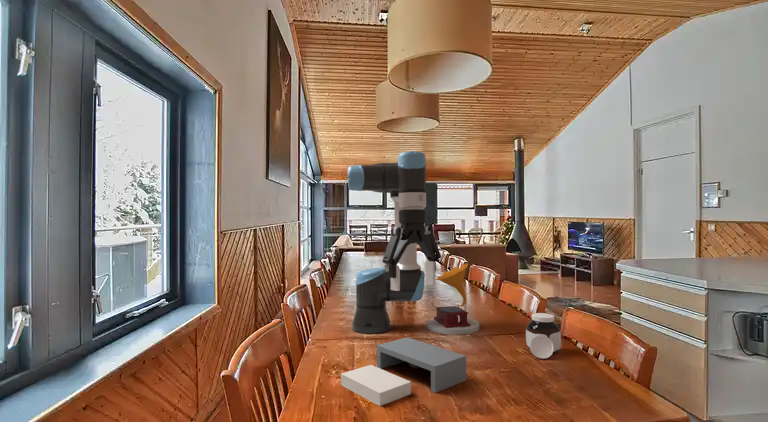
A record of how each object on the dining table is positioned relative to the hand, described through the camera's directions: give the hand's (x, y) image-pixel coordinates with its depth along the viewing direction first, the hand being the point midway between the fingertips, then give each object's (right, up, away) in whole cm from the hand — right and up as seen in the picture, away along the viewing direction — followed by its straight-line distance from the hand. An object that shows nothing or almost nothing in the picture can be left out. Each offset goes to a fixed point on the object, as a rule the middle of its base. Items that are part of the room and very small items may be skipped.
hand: (413, 287), depth 113 cm
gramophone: (+19, -25, +51) cm, 60 cm away
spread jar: (+42, -25, +19) cm, 53 cm away
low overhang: (+2, -25, +3) cm, 25 cm away
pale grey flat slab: (-10, -25, -7) cm, 28 cm away
